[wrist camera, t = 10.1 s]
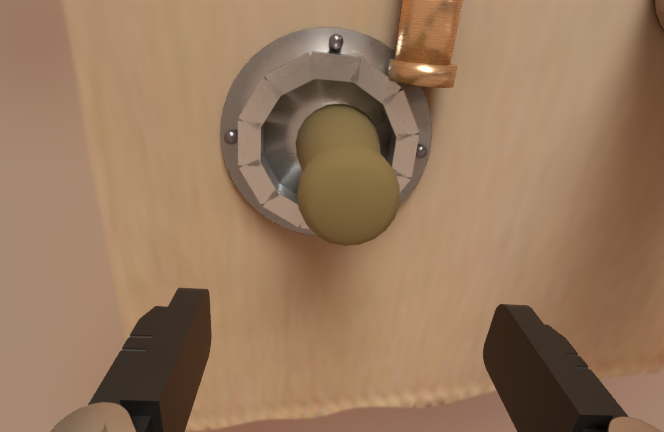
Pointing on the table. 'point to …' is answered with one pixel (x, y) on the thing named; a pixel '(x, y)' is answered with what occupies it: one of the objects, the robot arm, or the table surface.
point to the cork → (344, 176)
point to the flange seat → (304, 98)
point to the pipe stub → (426, 43)
